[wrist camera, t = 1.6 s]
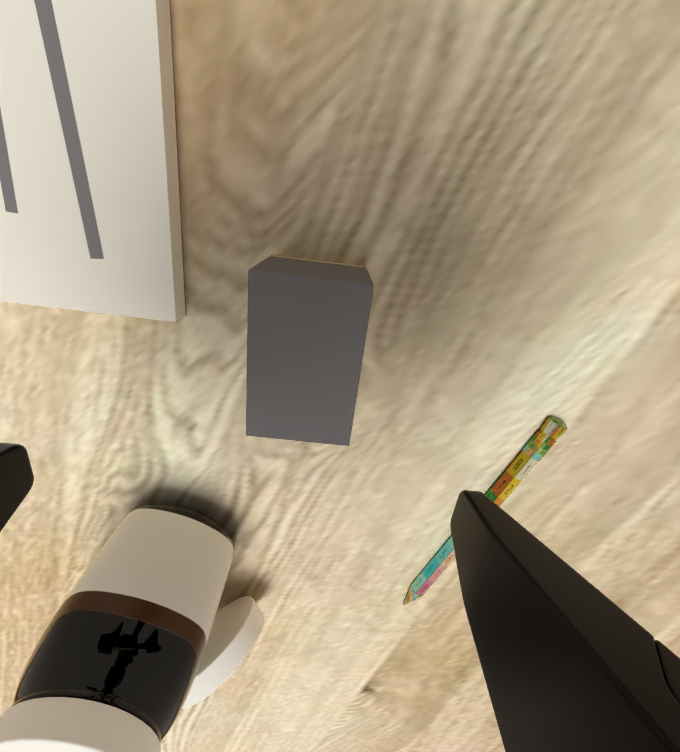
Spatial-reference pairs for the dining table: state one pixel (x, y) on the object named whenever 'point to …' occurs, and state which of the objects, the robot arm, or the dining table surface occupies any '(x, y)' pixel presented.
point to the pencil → (494, 498)
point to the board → (89, 158)
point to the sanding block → (305, 348)
